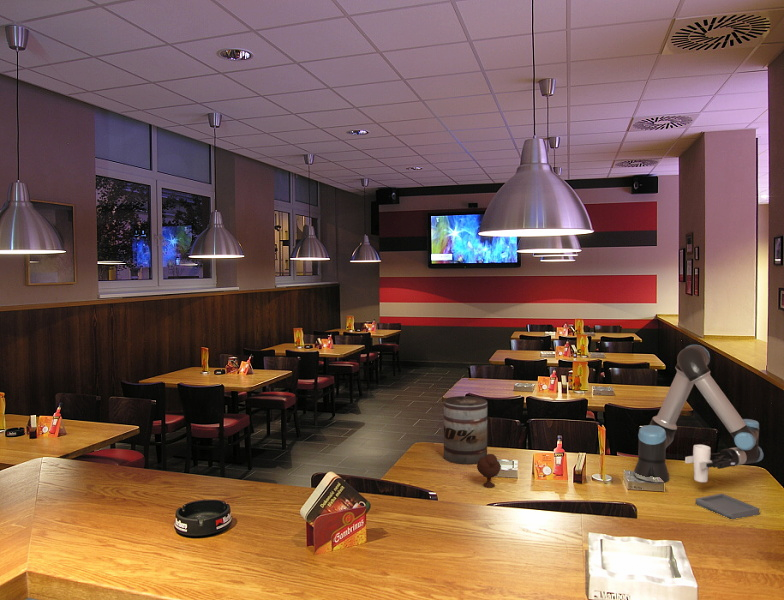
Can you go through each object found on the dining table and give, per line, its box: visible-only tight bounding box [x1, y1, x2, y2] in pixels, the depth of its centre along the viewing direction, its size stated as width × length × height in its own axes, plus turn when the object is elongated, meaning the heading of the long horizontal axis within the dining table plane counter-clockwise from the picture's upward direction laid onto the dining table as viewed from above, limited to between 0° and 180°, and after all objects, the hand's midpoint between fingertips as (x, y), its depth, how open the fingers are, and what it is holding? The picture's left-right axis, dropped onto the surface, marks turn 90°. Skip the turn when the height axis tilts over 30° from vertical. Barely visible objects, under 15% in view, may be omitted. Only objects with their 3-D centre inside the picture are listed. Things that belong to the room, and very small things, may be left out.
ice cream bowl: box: [476, 453, 502, 489], centre depth 273 cm, size 11×11×15 cm
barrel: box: [443, 395, 488, 466], centre depth 313 cm, size 22×22×30 cm
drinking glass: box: [692, 444, 712, 484], centre depth 260 cm, size 7×7×15 cm
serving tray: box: [695, 493, 760, 520], centre depth 245 cm, size 17×15×2 cm
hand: (692, 462), depth 258 cm, fingers closed on drinking glass, 6 cm apart
